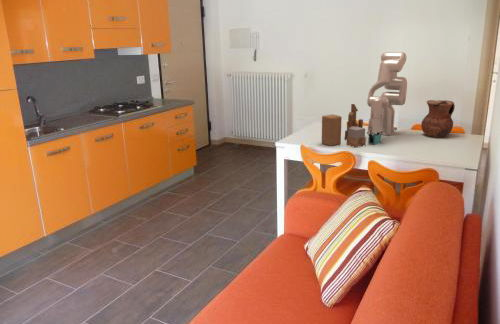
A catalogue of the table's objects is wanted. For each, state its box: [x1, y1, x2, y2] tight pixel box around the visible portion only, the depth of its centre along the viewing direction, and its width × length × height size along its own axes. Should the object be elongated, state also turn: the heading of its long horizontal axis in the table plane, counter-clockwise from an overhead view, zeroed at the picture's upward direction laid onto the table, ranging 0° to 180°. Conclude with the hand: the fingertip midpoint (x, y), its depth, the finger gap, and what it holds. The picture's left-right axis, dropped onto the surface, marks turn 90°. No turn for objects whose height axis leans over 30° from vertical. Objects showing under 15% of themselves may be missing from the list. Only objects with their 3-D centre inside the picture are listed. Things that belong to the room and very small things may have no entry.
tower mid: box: [348, 127, 366, 139], centre depth 279 cm, size 8×8×6 cm
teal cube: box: [367, 133, 382, 145], centre depth 284 cm, size 6×6×6 cm
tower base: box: [346, 136, 367, 148], centre depth 280 cm, size 9×9×6 cm
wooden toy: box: [344, 103, 364, 140], centre depth 297 cm, size 16×7×25 cm, turn 138°
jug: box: [421, 99, 455, 138], centre depth 296 cm, size 22×21×25 cm
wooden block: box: [321, 114, 342, 147], centre depth 284 cm, size 10×10×20 cm
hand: (374, 141), depth 284 cm, fingers closed on teal cube, 6 cm apart
